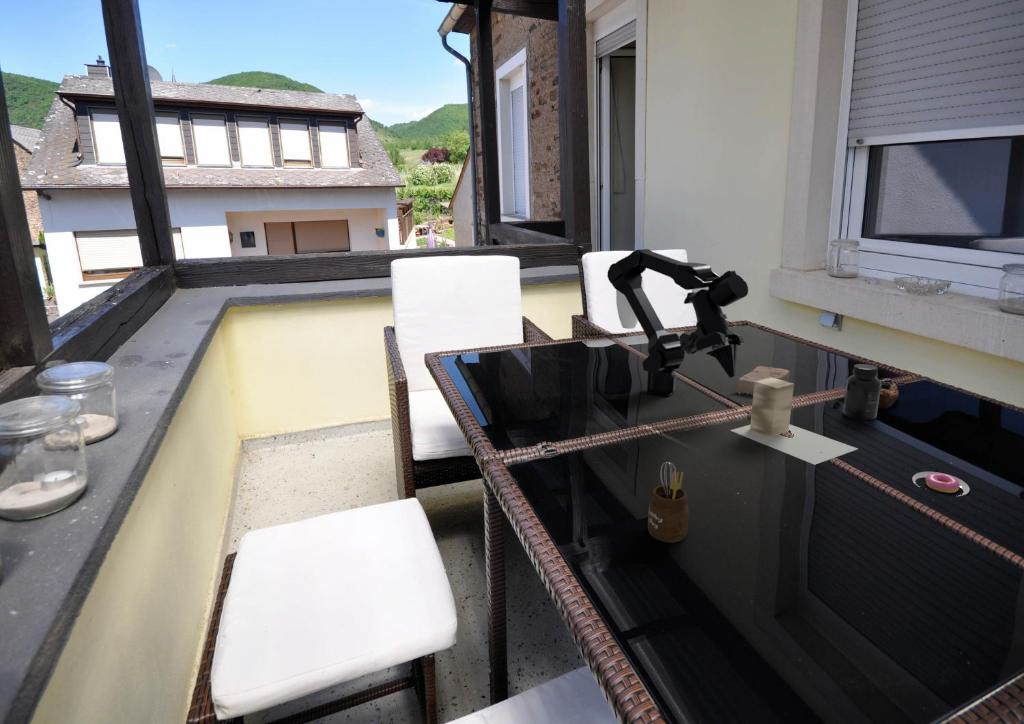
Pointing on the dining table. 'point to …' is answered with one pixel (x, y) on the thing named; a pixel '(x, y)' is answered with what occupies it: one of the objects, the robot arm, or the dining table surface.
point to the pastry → (887, 395)
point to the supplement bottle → (862, 393)
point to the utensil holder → (668, 511)
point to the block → (771, 406)
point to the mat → (800, 444)
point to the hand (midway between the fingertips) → (732, 377)
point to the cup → (626, 310)
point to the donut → (942, 482)
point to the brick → (760, 378)
